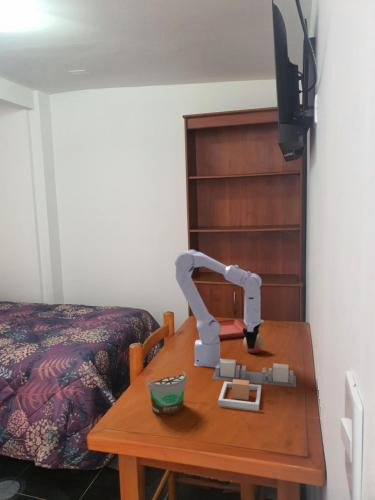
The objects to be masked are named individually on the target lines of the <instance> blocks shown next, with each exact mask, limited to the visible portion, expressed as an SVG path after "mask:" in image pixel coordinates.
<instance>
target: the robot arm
mask: <svg viewBox="0 0 375 500" xmlns="http://www.w3.org/2000/svg"><path fill="white" fill-rule="evenodd" d="M174 264H175V279H176V281H177V284H178V286H179V287H180V288H179V289H180V290H181V292H182V294H183V296H184V297H185V300H186V302H187V304H188V306H189V308H190V309H191V312H192V313H193V316H194V318H195V319H196V329H197V332H198V337H199V339H196V340H195V342H194V349H193V350H194V366H196V367H197V366H199V367H208V368H216V365H217V363H219V364H220V361H221V359H222V358H221V343H220V342H221V339H219V336H218V335H219V334H220V332H221V326H220V324H219V323H218V322H217V321H218V320H216V319H215V317H214V315H212V314H211V313H209V310H208V309H207V306H206V304H205V303H204V301H203V298H202V296H201V295H200V293H199V291H198V289H197V287H196V284H195V282H194V281H193V278H192V275H193V271H194V269H195V268H200V267H205V268H207V269H209V270H211V271H215V272H216V273H218V274H222V275H223V278H224V279H225V280H226V281H228V282H230V283H232V284H234V285H237V286H239V287H242V289H243V290H244V297H243V300H244V301H243V302H244V309H243V311H244V312H243V313H244V315H243V316H244V317H243V323H244V324H245V326H246V328H247V329H246V328H243V333H244V335H245V336H244V338H245V337H246V341H247V346H248V349H254V347H255V341H256V339H257V335H258V334H259V333H260V329H259V328H260V327H261V324H263V323H264V319H261V299H262V297H261V286H262V282H263V281H262V278H261V276H260V275H258V274H257V273H255V272H254V273H252V272H251V271H249V270H248V271H246V270H244V269H242V268H240V267H239V265H237V264H235V265H234V264H231V265H225V264H224V263H221V262H220V261H218V260H216V259H214V258H212V257H210V256H208V255H206V254H205V253H202V252H201V251H197V250H195V249H188V250H187V251H185V252H181V253H180V254H178V256H177V258H176V260H175V261H174Z"/></svg>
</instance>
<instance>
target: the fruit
mask: <svg viewBox="0 0 375 500" xmlns="http://www.w3.org/2000/svg"><path fill="white" fill-rule="evenodd" d="M264 343H265V342H264V339H263V337H262V336H261V334H259V333H258V335H257V339H256V341H255V347H254V349H248V346H247V341H246V337H245V336H244V338H243V346H244V349H245V350H246V351H247V352H248V353H249V354H253V355H256V354H259V353H260V352H262V350H263V349H264V346H265V345H264Z"/></svg>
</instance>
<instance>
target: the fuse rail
mask: <svg viewBox="0 0 375 500" xmlns="http://www.w3.org/2000/svg"><path fill="white" fill-rule="evenodd" d="M296 376H297V375H294V369H289V370H288V383H287V382H277V381H273V367H269V368H268V372H267V367H262V371H261V372H260V371H259V372H257V371H247V366H246V365H242V366H241V365H239V364H238V365H236V374H235V377H227V376H220V364H219V363H217V365H216V367H215V370H214V372H213V374H212V377H211V379H212V380H213V379H214V380H220V381H221V380H224V381H230V382H233V379H238V380H249V383H250V384H259V385H262V384H263V385H269V386H270V385H271V386H281V387H289V388H290V387H292V388H297V380H296V379H297V378H296Z"/></svg>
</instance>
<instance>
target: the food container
mask: <svg viewBox="0 0 375 500" xmlns="http://www.w3.org/2000/svg"><path fill="white" fill-rule="evenodd" d="M187 383H188V381H187V376H186V374H185V372H184V371H182V374H179V375H176V376H175V375H174V376H167V377H163V378H161V379H159V380H156V381H151V380H148V382H147V386H146V388H148V389H149V393H150V394H149V396H150V400H151V401H150V402H151V409H152V412H153V413H154V414H156V415H158V416H161V417H170V416H171V417H172V416H174V415H178V414H179V413H181V412H182V410H183V407H184V397H185V395H184V394H185V387H186V385H187Z"/></svg>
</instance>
